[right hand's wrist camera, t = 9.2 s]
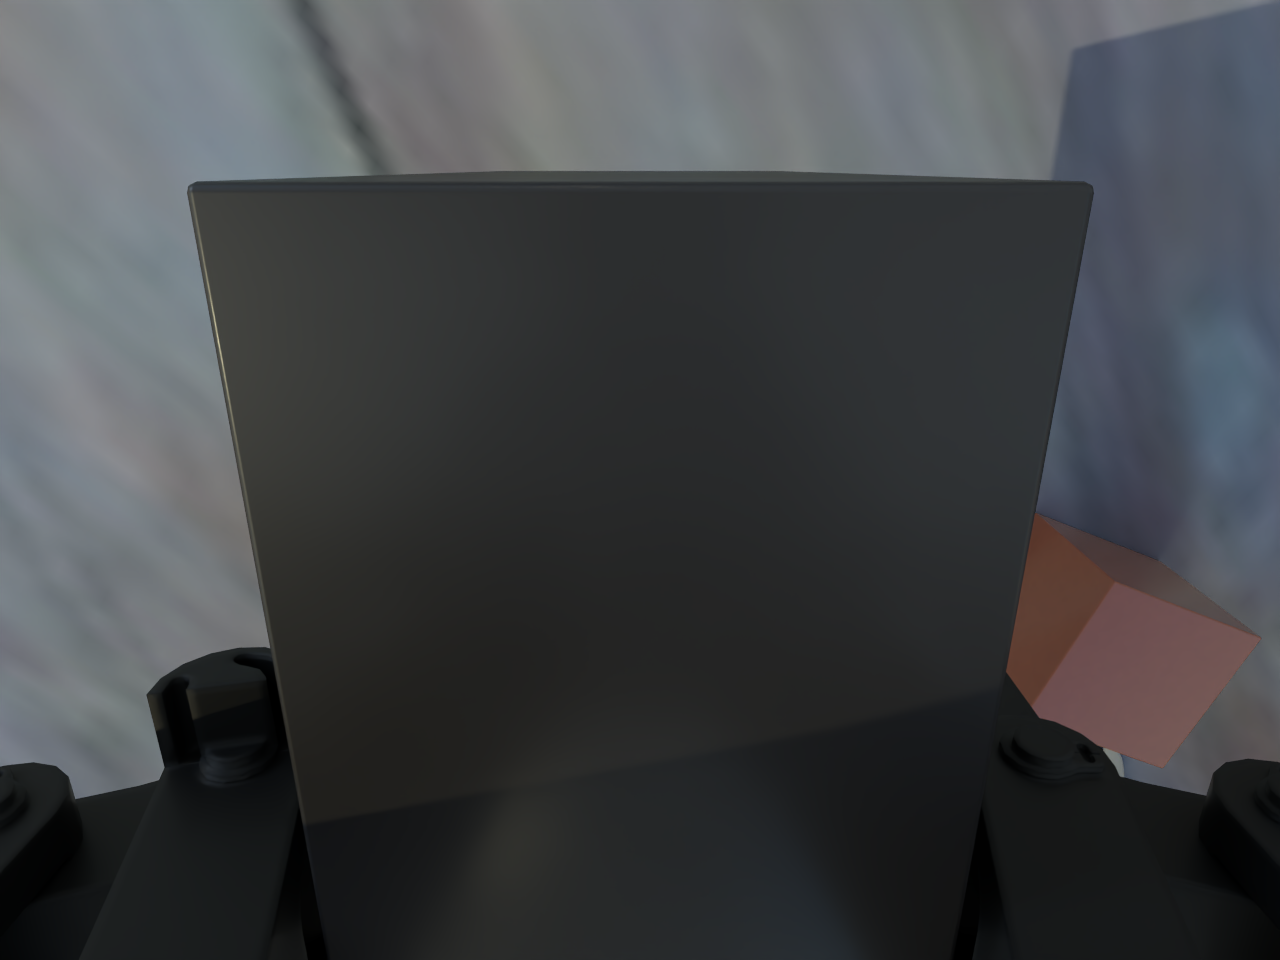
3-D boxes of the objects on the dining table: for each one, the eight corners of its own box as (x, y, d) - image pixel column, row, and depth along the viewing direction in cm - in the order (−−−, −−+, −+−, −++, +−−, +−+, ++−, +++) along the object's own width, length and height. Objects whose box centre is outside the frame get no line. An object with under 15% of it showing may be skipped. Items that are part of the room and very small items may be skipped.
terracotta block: (1034, 512, 28) (1114, 581, 23) (1160, 561, 29) (1263, 638, 24) (961, 632, 30) (1022, 719, 25) (1082, 676, 30) (1163, 769, 26)
